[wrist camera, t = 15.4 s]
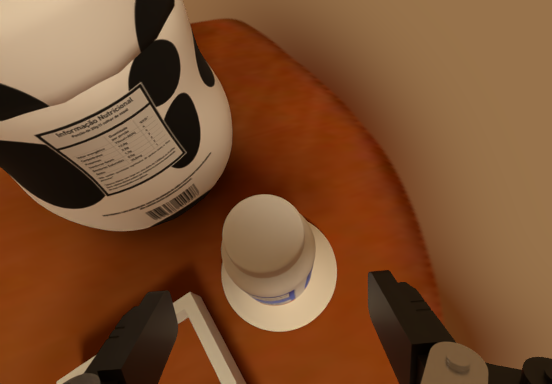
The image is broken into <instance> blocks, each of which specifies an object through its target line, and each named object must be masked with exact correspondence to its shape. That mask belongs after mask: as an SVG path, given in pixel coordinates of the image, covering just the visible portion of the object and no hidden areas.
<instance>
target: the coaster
mask: <svg viewBox="0 0 552 384" xmlns="http://www.w3.org/2000/svg"><path fill="white" fill-rule="evenodd" d="M307 222H308V221H307ZM308 224H309V226H310V227H311V230H312V232H313V235H314V238H315V245H316V252H315V260H314V264H313V268H312V273H311V278H310V281H309V283H308V285H307V287H306V289H305V290H304V292H303V293H302V294H301V295H300V296H299V297H298V298H296V299H295V300H294V301H292V302H290V303H288V304H284V305H280V306H269V305H264V304H262V303H260V302H258V301H256V300H255V299H253V298H252V297H251V296H249V295H248V294H247V293H245V292H244V291H243V290H242V289H240V288H239V287H238V286H237V285H236V284H235V283H234V282H233V281H232V280H231V278H230V277H229V275H228V274H227V272H226V270H225V267H224V264H223V262H222V271H221V275H222V284H223V289H224V292H225V295H226V297H227V299H228V301H229V303H230V305H231V306H232V308H233V309H234V310H235V312H236V313H237V314H238V315H239V316H240V317H241V318H243V319H244V320H245V321H247V322H248V323H250V324H251V325H253V326H256V327H258V328H261V329H264V330H268V331H275V332H283V331H290V330H294V329H297V328H300V327H302V326H304V325H306V324H308V323H309V322H311V321H312V320H314V319H315V318H316V317H317V316H318V315H319V314H320V313H321V312H322V311H323V310H324V309H325V307H326V306H327V304H328V303H329V301H330V299H331V297H332V294H333V292H334V288H335V285H336V279H337V267H336V260H335V256H334V253H333V250H332V248H331V246H330V244H329V242H328V240H327V239H326V238H325V236H324V235H323V234H322V233H321V232H320V230H318V229H317V228H316V227H315V226H314V225H312V224H311V223H309V222H308Z"/></svg>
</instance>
